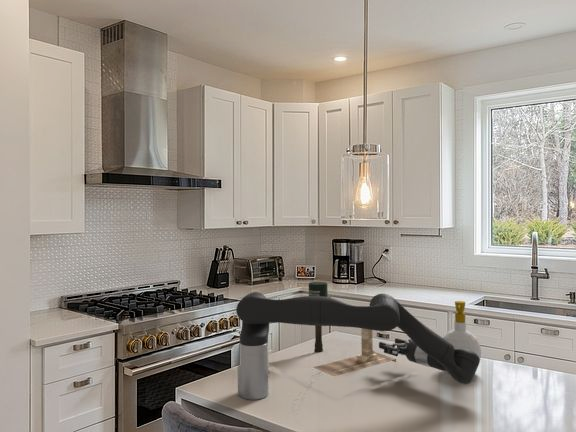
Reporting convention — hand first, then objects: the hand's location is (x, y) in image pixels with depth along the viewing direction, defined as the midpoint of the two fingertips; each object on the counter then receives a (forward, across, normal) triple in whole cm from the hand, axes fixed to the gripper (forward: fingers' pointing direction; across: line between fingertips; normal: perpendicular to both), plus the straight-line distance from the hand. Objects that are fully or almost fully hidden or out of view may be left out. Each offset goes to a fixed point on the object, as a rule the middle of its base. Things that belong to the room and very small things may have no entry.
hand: (387, 342), depth 178 cm
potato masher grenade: (+32, +7, +11) cm, 35 cm away
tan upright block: (+11, 0, +9) cm, 14 cm away
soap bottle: (-17, -21, +11) cm, 29 cm away
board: (+11, +6, +11) cm, 16 cm away
